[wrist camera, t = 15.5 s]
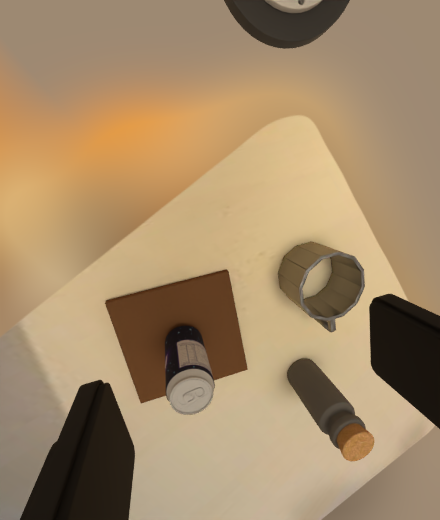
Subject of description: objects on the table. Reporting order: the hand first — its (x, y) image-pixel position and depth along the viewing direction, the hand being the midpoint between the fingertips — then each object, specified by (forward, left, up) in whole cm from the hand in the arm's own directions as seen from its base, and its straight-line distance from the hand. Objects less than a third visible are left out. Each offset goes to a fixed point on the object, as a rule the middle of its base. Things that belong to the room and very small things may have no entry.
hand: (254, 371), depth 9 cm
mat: (+16, -4, -30) cm, 34 cm away
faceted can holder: (+12, +18, -30) cm, 37 cm away
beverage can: (+16, -4, -30) cm, 34 cm away
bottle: (+30, +15, -31) cm, 45 cm away
